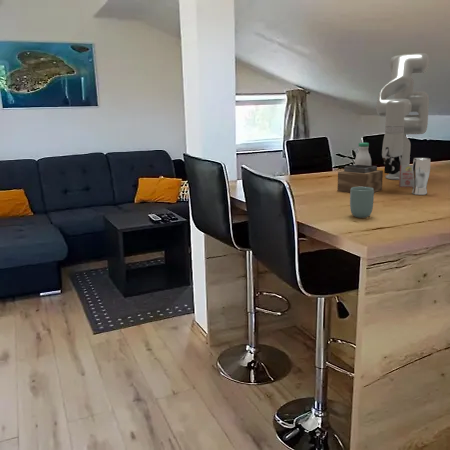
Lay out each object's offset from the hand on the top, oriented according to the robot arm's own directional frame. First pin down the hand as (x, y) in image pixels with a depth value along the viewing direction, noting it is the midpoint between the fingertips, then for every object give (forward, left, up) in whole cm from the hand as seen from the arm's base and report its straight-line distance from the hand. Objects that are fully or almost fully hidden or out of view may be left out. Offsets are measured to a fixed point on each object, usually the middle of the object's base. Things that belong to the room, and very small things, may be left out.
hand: (392, 171), depth 209 cm
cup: (+48, +15, -9) cm, 51 cm away
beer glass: (-4, +11, -9) cm, 15 cm away
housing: (+5, -13, -9) cm, 16 cm away
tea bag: (-17, -2, -9) cm, 19 cm away
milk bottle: (-8, -20, -9) cm, 23 cm away
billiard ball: (0, 0, -1) cm, 1 cm away
